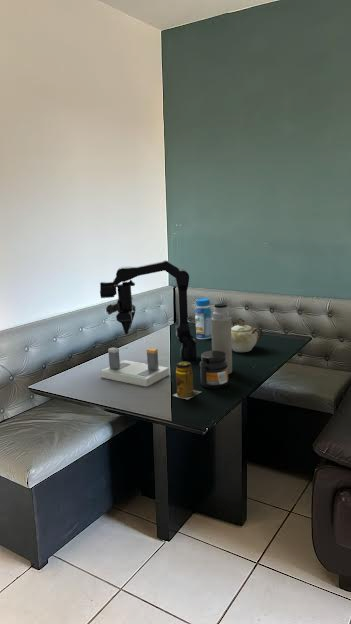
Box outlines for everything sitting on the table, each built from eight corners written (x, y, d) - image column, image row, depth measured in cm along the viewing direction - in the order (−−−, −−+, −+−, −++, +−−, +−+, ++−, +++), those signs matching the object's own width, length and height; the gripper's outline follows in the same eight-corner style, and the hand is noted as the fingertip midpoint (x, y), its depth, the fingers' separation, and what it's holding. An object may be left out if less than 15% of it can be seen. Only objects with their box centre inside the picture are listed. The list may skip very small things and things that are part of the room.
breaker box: (125, 366, 214) (124, 359, 213) (168, 374, 201) (168, 367, 200) (101, 377, 202) (100, 369, 201) (146, 386, 189) (146, 378, 188)
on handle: (113, 366, 204) (112, 347, 202) (120, 367, 202) (118, 348, 200) (109, 368, 202) (108, 348, 200) (116, 369, 200) (114, 350, 198)
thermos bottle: (215, 367, 207) (213, 302, 201) (234, 368, 204) (232, 302, 198) (210, 374, 199) (208, 306, 193) (229, 375, 197) (228, 306, 191)
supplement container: (227, 389, 182) (226, 358, 179) (198, 389, 184) (197, 358, 181) (229, 379, 192) (228, 350, 190) (202, 379, 194) (201, 350, 191)
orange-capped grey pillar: (151, 367, 200) (150, 348, 199) (158, 368, 198) (157, 349, 197) (147, 368, 198) (146, 349, 197) (155, 370, 196) (153, 350, 195)
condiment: (171, 395, 179) (170, 364, 176) (186, 388, 185) (185, 358, 183) (187, 400, 174) (186, 367, 172) (202, 392, 181) (200, 361, 178)
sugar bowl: (216, 352, 227) (215, 320, 224) (227, 343, 240) (226, 313, 237) (257, 356, 219) (257, 323, 216) (267, 347, 232) (266, 316, 229)
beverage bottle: (212, 339, 249) (211, 300, 245) (196, 340, 249) (194, 301, 245) (211, 335, 258) (210, 297, 253) (195, 335, 258) (194, 298, 253)
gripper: (109, 293, 222) (112, 327, 226) (102, 301, 204) (106, 338, 208) (134, 292, 222) (137, 325, 225) (129, 300, 204) (132, 336, 207)
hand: (127, 331), depth 216 cm, fingers open, 9 cm apart
